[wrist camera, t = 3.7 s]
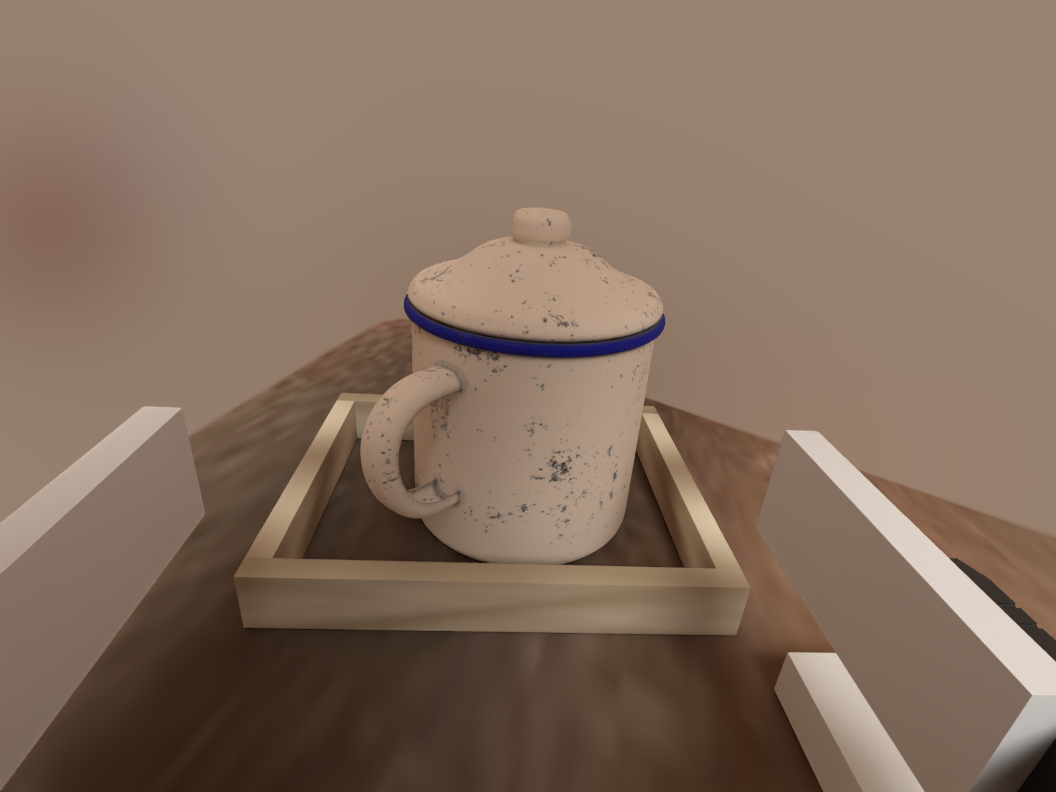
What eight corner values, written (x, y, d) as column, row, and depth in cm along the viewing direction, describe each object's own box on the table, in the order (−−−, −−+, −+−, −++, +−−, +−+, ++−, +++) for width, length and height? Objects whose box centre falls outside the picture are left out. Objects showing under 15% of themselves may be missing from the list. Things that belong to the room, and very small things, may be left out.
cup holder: (736, 635, 18) (751, 587, 17) (243, 627, 17) (233, 577, 16) (647, 441, 29) (654, 406, 28) (344, 429, 28) (341, 392, 27)
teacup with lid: (506, 426, 30) (520, 188, 25) (667, 497, 25) (725, 220, 20) (296, 538, 21) (250, 205, 16) (481, 683, 16) (501, 269, 11)
